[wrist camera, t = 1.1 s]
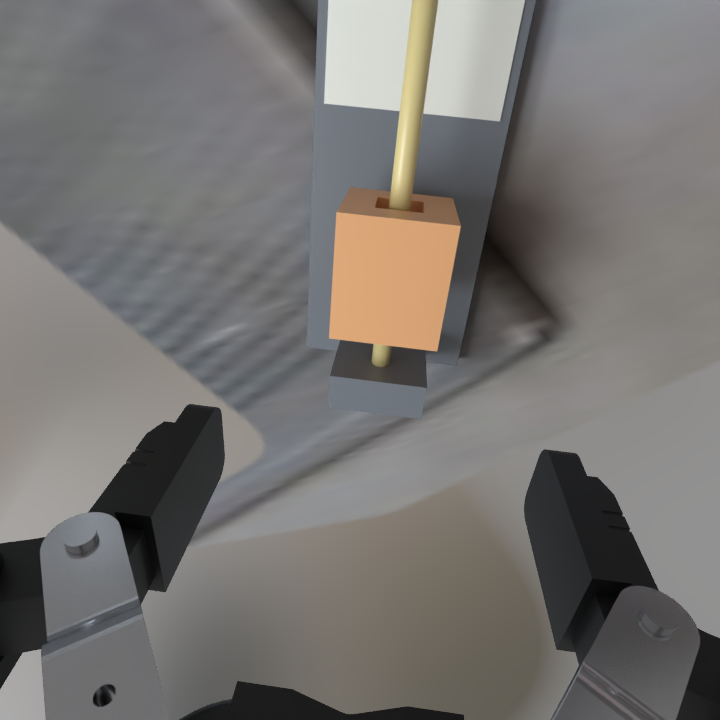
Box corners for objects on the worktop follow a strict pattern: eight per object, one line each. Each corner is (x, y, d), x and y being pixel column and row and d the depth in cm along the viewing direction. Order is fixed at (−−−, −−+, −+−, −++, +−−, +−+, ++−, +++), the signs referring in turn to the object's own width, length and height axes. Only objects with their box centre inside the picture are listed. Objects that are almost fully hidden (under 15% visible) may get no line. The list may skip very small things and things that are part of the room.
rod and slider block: (329, -210, 21) (285, -350, 14) (572, -192, 20) (653, -327, 13) (309, 340, 34) (282, 408, 27) (455, 357, 33) (466, 432, 27)
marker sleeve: (350, 187, 25) (336, 212, 21) (452, 198, 25) (460, 225, 21) (342, 295, 28) (328, 338, 24) (433, 306, 28) (437, 351, 24)
